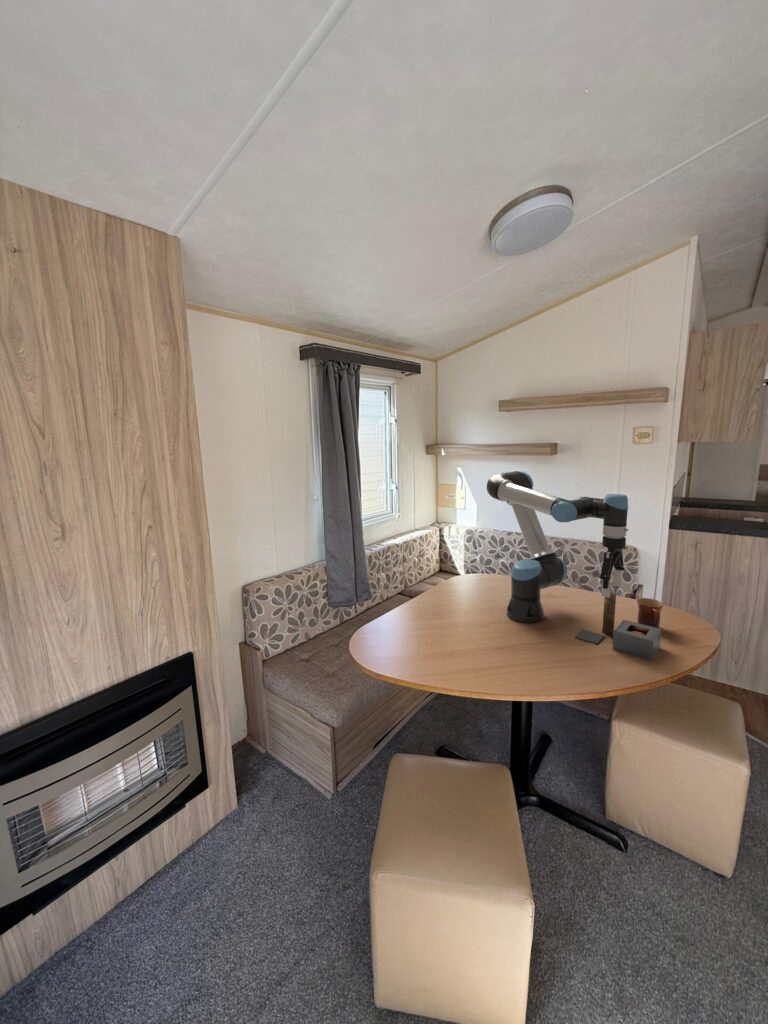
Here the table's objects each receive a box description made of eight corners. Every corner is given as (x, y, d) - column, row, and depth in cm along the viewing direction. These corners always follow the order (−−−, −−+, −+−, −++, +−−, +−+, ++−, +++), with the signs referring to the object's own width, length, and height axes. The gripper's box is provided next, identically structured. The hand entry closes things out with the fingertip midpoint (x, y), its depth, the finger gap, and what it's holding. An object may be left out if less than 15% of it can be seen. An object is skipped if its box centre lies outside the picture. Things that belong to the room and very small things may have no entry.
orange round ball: (628, 642, 146) (628, 634, 146) (631, 637, 149) (632, 629, 149) (642, 646, 143) (643, 638, 143) (645, 641, 146) (646, 633, 146)
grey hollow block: (612, 649, 147) (613, 630, 145) (622, 637, 155) (623, 619, 154) (651, 660, 138) (653, 641, 137) (659, 647, 147) (661, 629, 146)
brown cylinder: (600, 633, 159) (603, 593, 156) (604, 629, 161) (606, 591, 158) (611, 636, 156) (614, 596, 153) (614, 632, 159) (617, 593, 156)
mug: (631, 621, 168) (633, 597, 166) (655, 622, 166) (657, 598, 164) (643, 635, 156) (645, 609, 154) (669, 636, 154) (671, 610, 152)
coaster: (574, 638, 156) (574, 636, 156) (582, 630, 161) (582, 629, 161) (597, 644, 150) (597, 643, 150) (604, 636, 156) (604, 635, 156)
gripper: (615, 544, 140) (612, 603, 144) (634, 531, 158) (631, 584, 162) (592, 541, 146) (589, 598, 149) (613, 529, 163) (610, 580, 167)
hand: (611, 591), depth 155 cm, fingers open, 13 cm apart
